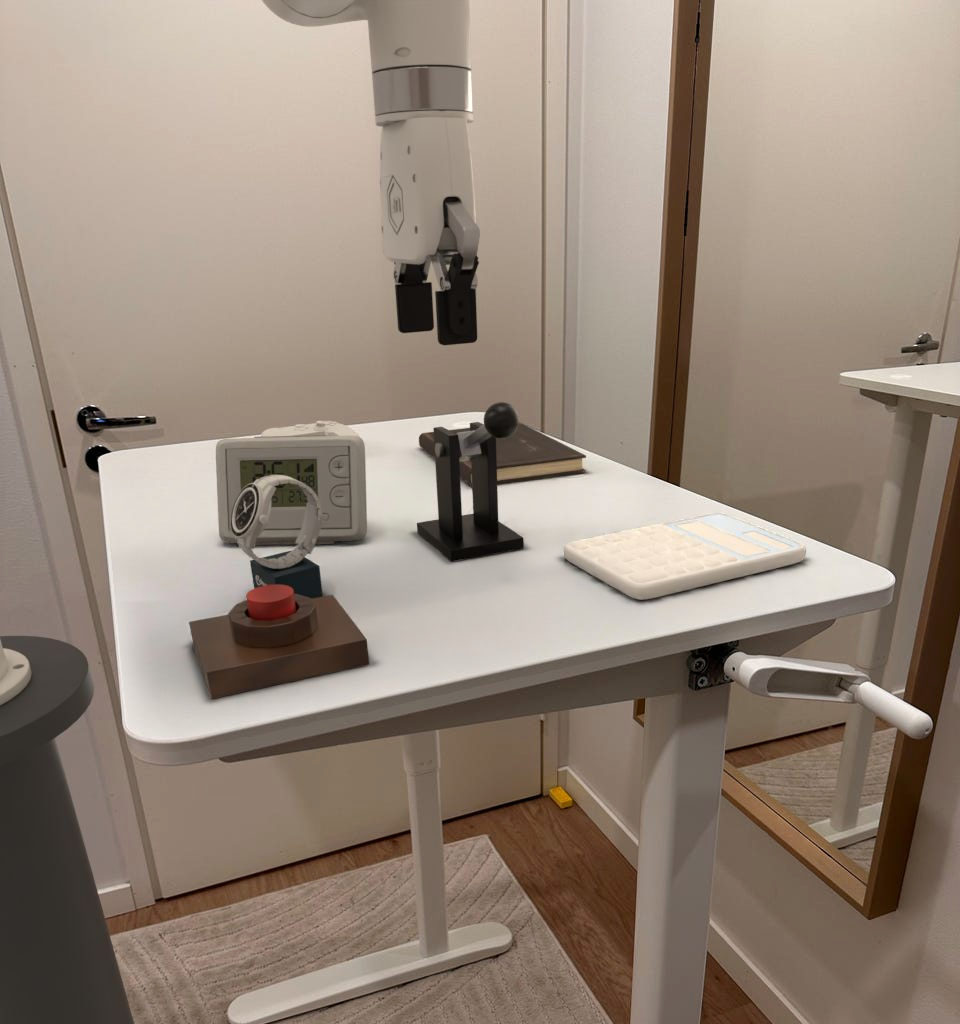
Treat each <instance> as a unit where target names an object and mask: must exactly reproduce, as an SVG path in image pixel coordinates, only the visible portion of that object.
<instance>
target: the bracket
mask: <svg viewBox="0 0 960 1024" xmlns="http://www.w3.org/2000/svg"><path fill="white" fill-rule="evenodd" d="M482 425H484V423H482V422H479V421H473V422H470V423H469V428H470V431H475V430H477V429H478V428H479V427H481V426H482ZM450 430H451V429H447V428H445V427H443V426H436V427H433V432H434V448H435V458H434V461H435V465H434V466H435V481H436V482H435V483H436V499H437V500H436V501H437V515H438V518H437V519H432V520H426V521H425V520H424V521H419V522H416V531H417V532H416V533H417V534H418V535H419V536H420V537H421V538H423V539H424V540H425V541H426V542H428V544H430V546H432V547H433V548H434V549H435V550H437V552H439V553H440V554H442V555H443V556H444V557H445V558H446V559H448V560H449V561H450V562H458V561H463V560H467V559H473V558H480V557H484V556H490V555H495V554H500V553H506V552H513V551H517V550H522V549H524V545H525V544H524V537H523V536H522V535H520V534H518V533H517V532H515V531H514V530H513V529H511V528H510V527H508V526H507V525H505V524H504V523H502V522H501V521H499V497H498V494H499V492H498V491H499V490H498V484H497V454H496V438H495V437H493V436H491V437H489V438H488V439H487V440H485V441H484V442H482V443H481V444H480V447H481V452H482V454H480V455H479V456H477V457H476V458H474V459H473V460H471V468H472V486H471V487H472V488H471V491H472V513H468V514H463V511H462V510H463V508H462V507H463V505H462V490H461V489H462V487H461V486H462V485H461V477H460V462H459V440H458V435H457V434H455V433H453V432H452V431H450Z"/></svg>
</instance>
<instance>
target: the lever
mask: <svg viewBox="0 0 960 1024" xmlns="http://www.w3.org/2000/svg"><path fill="white" fill-rule="evenodd" d="M519 422H520V416H519V413H518V411H517V409H516V407H514V406H513V405H512V404H510V403H508V402H504V401H499V402H495V403H493V404H491V405H490V406H488V408H487V409H486V411H485V412H484V415H483V424H484V425H482V426H481V427H479V428H478V429H477V430H475V431H467V432H459V433H456V434H457V435H458V440H459V462H460V461H468V460H473V459H474V458H476V457H477V456H479V455H480V454H482V452H481V447H480V444H481V443H482V442H484V441H485V440H487V439H488V438H489V437H491V436H493V437H495V438H500V439H502V438H507V437H509V436H511V435H512V434H514V432H515V431H516V430H517V428H518V425H519Z"/></svg>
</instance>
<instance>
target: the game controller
mask: <svg viewBox="0 0 960 1024" xmlns="http://www.w3.org/2000/svg"><path fill="white" fill-rule="evenodd" d="M309 435H326V436H358V437H360V435H359V433H357V432H356V431H355V430H354V429H353V428H351V427H349V426H348V425H346V424H343V423H340V422H337V421H332V420H316V422H313V423H306V424H304V423H297V424H295V425H290V426H283V427H270V428H267V429H265V430H263V431H262V432H261V434H260V437H268V436H309Z"/></svg>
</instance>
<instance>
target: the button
mask: <svg viewBox="0 0 960 1024" xmlns="http://www.w3.org/2000/svg"><path fill="white" fill-rule="evenodd" d="M245 598H246V599H245V600H247V605H248V612H249V617H250V618H252V619H255V620H276V619H281V618H285V617H288V616H290V615H292V614H294V613H296V606H295V598H294V591H293V589H292V588H291V587H289V586H286V585H279V584H274V585H265V586H261V587H257V588H255V589H254V588H253V589H251V590H249V591H248V592H247V593H246V595H245Z"/></svg>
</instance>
